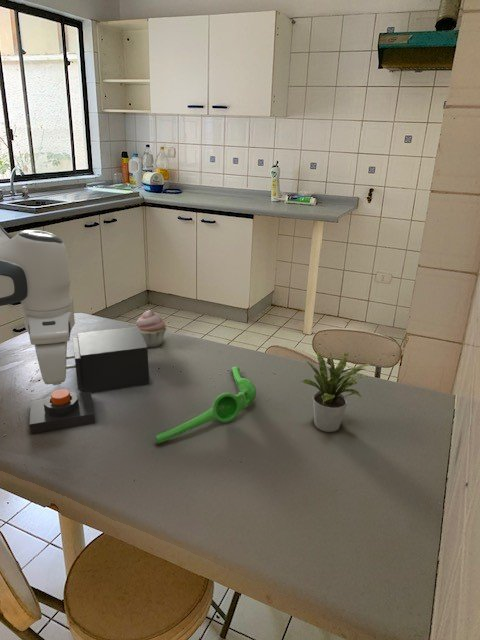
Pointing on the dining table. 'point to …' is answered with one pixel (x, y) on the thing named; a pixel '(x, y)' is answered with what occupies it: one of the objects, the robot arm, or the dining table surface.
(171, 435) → the lime squeezer
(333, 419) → the house plant
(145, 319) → the cupcake
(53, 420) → the panel
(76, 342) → the basket drawer
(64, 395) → the button
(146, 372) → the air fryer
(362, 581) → the dining table surface
